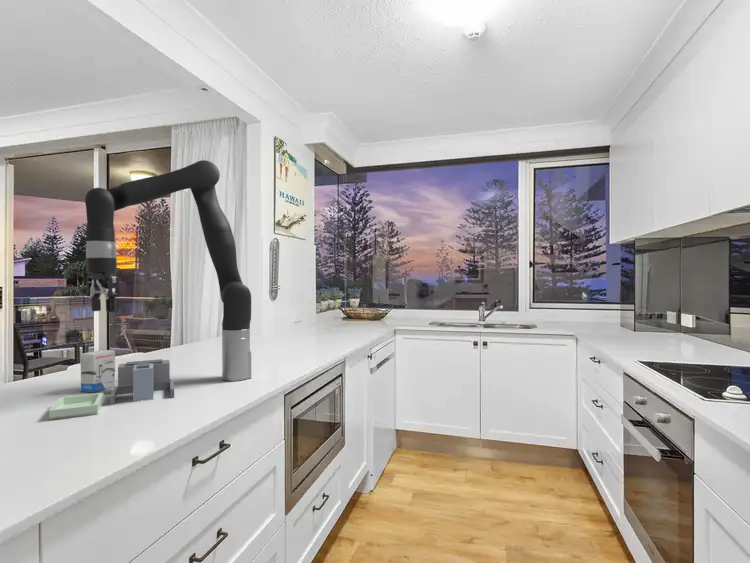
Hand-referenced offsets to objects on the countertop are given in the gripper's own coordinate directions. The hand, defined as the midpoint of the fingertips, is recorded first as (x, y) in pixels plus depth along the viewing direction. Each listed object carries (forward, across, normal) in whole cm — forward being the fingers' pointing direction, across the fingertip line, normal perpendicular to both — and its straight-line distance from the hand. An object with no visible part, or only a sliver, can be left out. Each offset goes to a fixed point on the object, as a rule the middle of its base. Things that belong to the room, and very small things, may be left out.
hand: (103, 311), depth 123 cm
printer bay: (+25, -7, -7) cm, 27 cm away
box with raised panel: (+26, -11, -5) cm, 28 cm away
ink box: (+25, +10, -3) cm, 27 cm away
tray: (+25, -8, +11) cm, 29 cm away
